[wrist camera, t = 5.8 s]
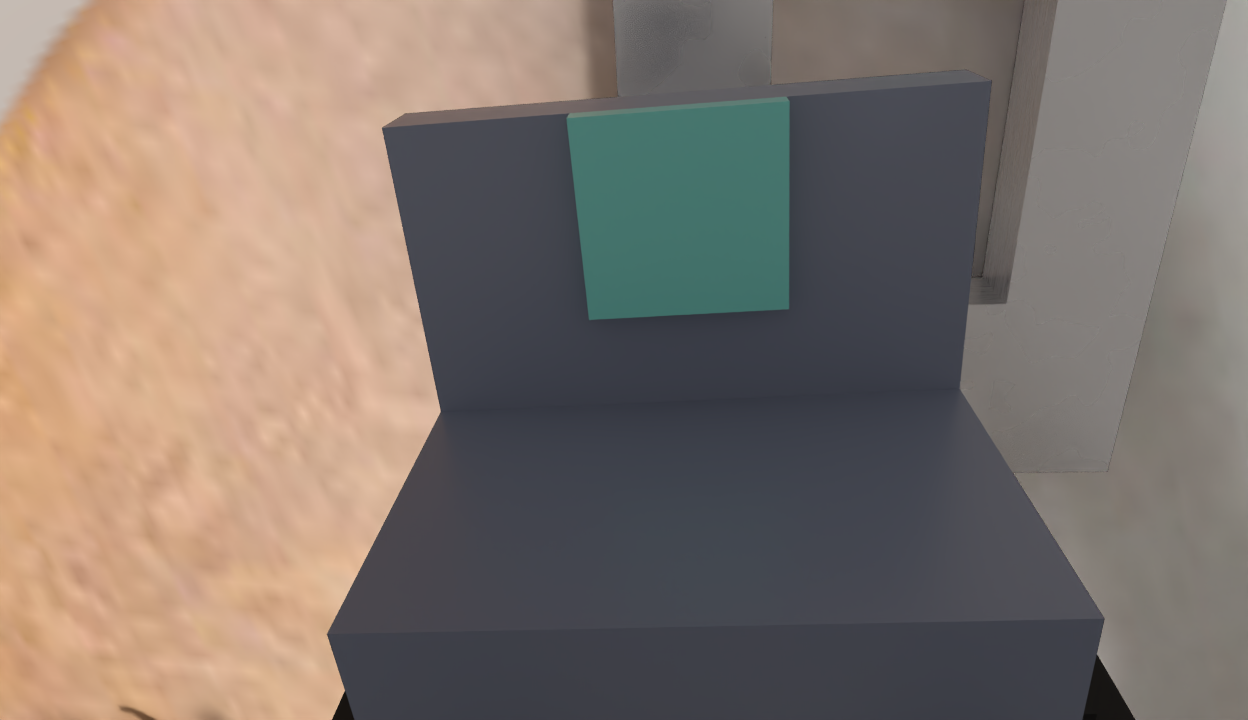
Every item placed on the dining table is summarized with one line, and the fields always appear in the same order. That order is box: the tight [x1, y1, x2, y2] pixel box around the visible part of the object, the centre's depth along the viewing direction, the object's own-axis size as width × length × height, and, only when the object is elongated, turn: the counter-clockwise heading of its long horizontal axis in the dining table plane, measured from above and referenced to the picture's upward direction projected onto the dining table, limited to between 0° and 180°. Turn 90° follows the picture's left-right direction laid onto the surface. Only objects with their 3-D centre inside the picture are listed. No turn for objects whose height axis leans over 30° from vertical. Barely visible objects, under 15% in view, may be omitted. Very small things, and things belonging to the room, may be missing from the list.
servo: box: [327, 70, 1105, 720], centre depth 8 cm, size 4×12×6 cm, turn 5°
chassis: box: [613, 0, 1227, 473], centre depth 22 cm, size 14×20×2 cm
